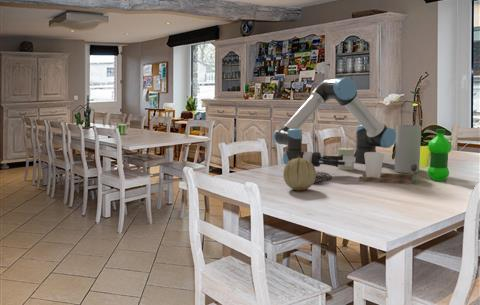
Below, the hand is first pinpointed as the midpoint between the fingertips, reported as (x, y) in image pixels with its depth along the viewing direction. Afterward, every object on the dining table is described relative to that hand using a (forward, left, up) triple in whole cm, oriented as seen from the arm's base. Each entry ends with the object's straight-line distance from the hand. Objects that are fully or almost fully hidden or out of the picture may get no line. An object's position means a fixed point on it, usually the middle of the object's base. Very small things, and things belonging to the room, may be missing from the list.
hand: (353, 161), depth 229 cm
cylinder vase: (+17, +32, -9) cm, 37 cm away
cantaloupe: (-9, -40, -9) cm, 42 cm away
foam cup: (+10, +3, -9) cm, 13 cm away
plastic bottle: (+36, +19, -9) cm, 42 cm away
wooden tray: (+16, +5, -8) cm, 19 cm away
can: (-14, +22, -9) cm, 27 cm away
